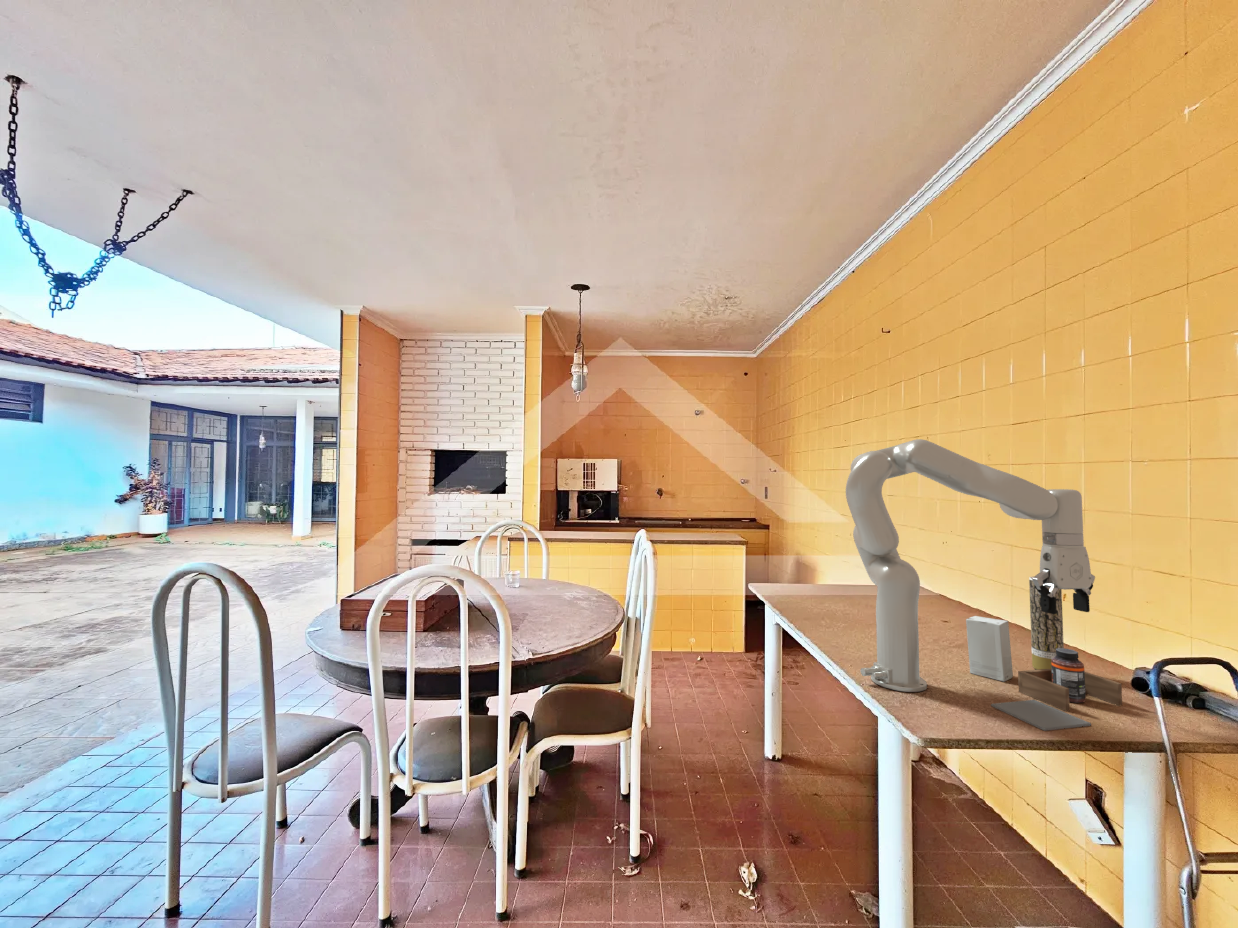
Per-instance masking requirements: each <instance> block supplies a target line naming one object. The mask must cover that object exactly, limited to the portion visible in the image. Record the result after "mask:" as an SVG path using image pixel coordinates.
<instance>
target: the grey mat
mask: <svg viewBox="0 0 1238 928" xmlns="http://www.w3.org/2000/svg"><path fill="white" fill-rule="evenodd" d="M990 706H991V707H993V708H994V709H997V710H999V711H1001V712H1003V713H1005V714H1007V715H1009V716H1012V717H1014V718H1016V719H1018V720H1021V721H1023V722H1025V723H1027V724H1029V725H1031V726H1033V727H1036V728H1038V729H1040V730H1042V731H1045V732H1046V731H1053V730H1064V728H1065V729H1072V728H1081V727H1082V726H1083V727H1090V726H1091V727H1092V723H1091V722H1088V721H1087V720H1084V719H1082V718H1079V717H1078V716H1075V715H1072V714H1070V713H1067V712H1066V711H1064V710H1061V709H1059V708H1056V707H1054V706H1052V705H1049V704H1047V703H1044V702H1042V701H1040V700H1037V699H1029V700H1028V699H1026V700H1017V701H1006V702H996V703H991V705H990ZM1083 727H1082V728H1083Z"/></svg>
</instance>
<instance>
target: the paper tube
mask: <svg viewBox="0 0 1238 928" xmlns="http://www.w3.org/2000/svg"><path fill="white" fill-rule="evenodd" d="M1033 577H1034V576H1029V577H1028V578H1029V579H1028V585H1029V589H1028V590H1029V608H1030V609H1029V614H1030V644H1031V645H1030V646H1031V665H1032V667H1033V669H1034V670H1039V669H1051V659H1052V658H1053V657H1055V656H1056V649H1057V648H1064V624H1063V623H1064V622H1063V594H1062V593H1063V589H1059V588H1058V590H1057V591H1056V593H1055V594H1054V596H1053V597H1056V606H1057V613H1056V614H1050V613H1046V612H1042V611H1041V595H1039V594H1038V591H1037V589H1036V588H1035V584H1034V582H1033V580H1032V578H1033ZM1047 589H1048V590H1050V589H1051V588H1047Z"/></svg>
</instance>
